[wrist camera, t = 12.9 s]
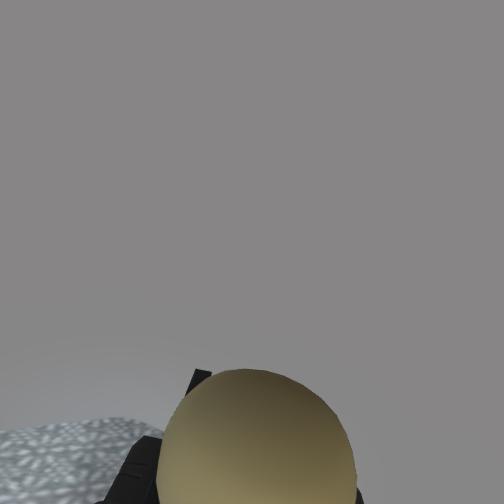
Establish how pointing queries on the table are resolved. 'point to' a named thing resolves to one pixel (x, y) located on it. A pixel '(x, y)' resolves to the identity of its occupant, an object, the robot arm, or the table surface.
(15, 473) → the table surface
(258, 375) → the cork
